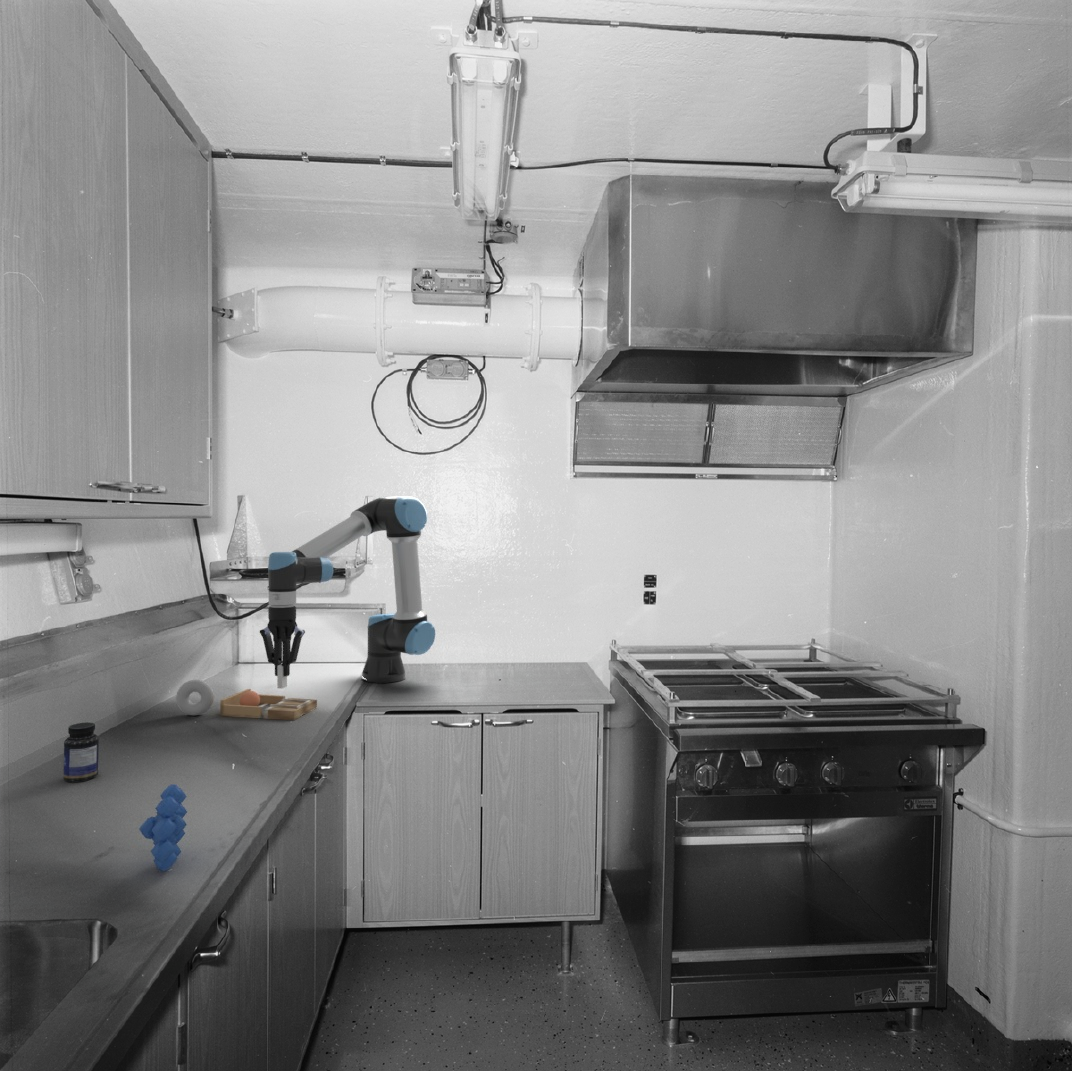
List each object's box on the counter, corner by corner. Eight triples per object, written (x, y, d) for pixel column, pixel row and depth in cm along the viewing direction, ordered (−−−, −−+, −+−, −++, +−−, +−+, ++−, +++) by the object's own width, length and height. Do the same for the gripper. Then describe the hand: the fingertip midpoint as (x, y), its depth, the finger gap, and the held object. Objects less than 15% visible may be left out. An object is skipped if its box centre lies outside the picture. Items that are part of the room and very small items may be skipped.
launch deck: (288, 706, 208) (288, 695, 208) (316, 707, 206) (316, 697, 206) (263, 718, 194) (263, 707, 194) (294, 720, 192) (294, 709, 192)
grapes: (148, 849, 114) (149, 776, 114) (193, 845, 116) (194, 773, 116) (127, 884, 103) (129, 804, 103) (178, 879, 105) (179, 800, 105)
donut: (215, 713, 198) (216, 678, 198) (211, 716, 194) (212, 680, 194) (178, 713, 196) (178, 678, 196) (173, 717, 193) (174, 681, 193)
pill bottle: (67, 774, 148) (68, 722, 148) (101, 771, 150) (102, 720, 150) (59, 784, 142) (60, 730, 142) (94, 781, 144) (95, 728, 144)
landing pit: (247, 703, 209) (247, 689, 209) (288, 706, 208) (288, 691, 208) (220, 715, 195) (220, 700, 195) (263, 718, 194) (263, 702, 194)
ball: (256, 687, 203) (266, 697, 201) (249, 703, 204) (259, 713, 201) (240, 687, 199) (250, 697, 196) (233, 703, 199) (242, 714, 197)
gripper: (254, 606, 197) (254, 689, 198) (297, 607, 196) (297, 691, 196) (267, 603, 205) (267, 683, 205) (309, 604, 203) (309, 685, 204)
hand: (282, 687), depth 201 cm, fingers closed
